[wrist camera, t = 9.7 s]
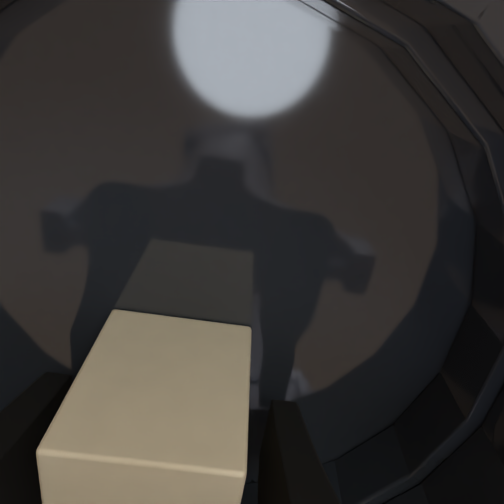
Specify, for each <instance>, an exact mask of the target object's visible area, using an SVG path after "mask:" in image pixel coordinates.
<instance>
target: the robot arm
mask: <svg viewBox="0 0 504 504" xmlns="http://www.w3.org/2000/svg"><path fill="white" fill-rule="evenodd" d="M71 385H72V375H69V374H60V373H52V372H45V373H44V374H43V375H41V376H40V377H39V378H38V379H37V380H36V381H34V382H33V383H32V384H31V385H30V386H29V387H28V388H27V389H25V390H24V391H23V392H22V393H21V394H20V395H19V396H18V397H16V398H15V399H14V400H13V401H12V402H11V403H9V404H8V405H7V406H6V407H5V408H4V409H3V410H1V411H0V504H42V499H41V491H40V483H39V475H38V466H37V458H36V450H37V448H38V446H39V444H40V442H41V440H42V438H43V437H44V435H45V433H46V431H47V429H48V427H49V426H50V424H51V422H52V420H53V418H54V416H55V415H56V413H57V411H58V409H59V407H60V405H61V404H62V402H63V400H64V398H65V396H66V394H67V392H68V391H69V389H70V387H71ZM258 504H341V503H340V501H339V499H338V497H337V495H336V493H335V491H334V489H333V487H332V485H331V483H330V481H329V478H328V476H327V474H326V472H325V470H324V468H323V466H322V464H321V461H320V459H319V457H318V455H317V452H316V450H315V447H314V445H313V443H312V440H311V438H310V435H309V433H308V430H307V427H306V425H305V422H304V419H303V416H302V414H301V411H300V407H299V405H298V404H297V403H296V402H291V401H282V400H274V399H272V400H271V405H270V409H269V414H268V418H267V423H266V427H265V431H264V436H263V440H262V445H261V449H260V454H259V473H258Z"/></svg>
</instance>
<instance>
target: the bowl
mask: <svg viewBox="0 0 504 504" xmlns="http://www.w3.org/2000/svg"><path fill="white" fill-rule="evenodd" d="M114 309H117V310H125V311H133V312H140V313H148V314H156V315H164V316H171V317H179V318H187V319H195V320H202V321H210V322H218V323H226V324H233V325H241V326H248V327H250V328H251V330H252V332H251V362H250V392H249V422H248V452H247V475H246V480H245V485H244V490H243V494H242V499H241V504H258V473H259V454H260V449H261V445H262V440H263V436H264V431H265V427H266V423H267V418H268V414H269V409H270V405H271V400H272V399H274V400H282V401H291V402H296V403H297V404H298V405H299V407H300V411H301V414H302V416H303V419H304V422H305V425H306V427H307V430H308V433H309V435H310V438H311V440H312V443H313V445H314V447H315V450H316V452H317V455H318V457H319V459H320V461H321V464H322V466H323V468H324V470H325V472H326V474H327V476H328V478H329V481H330V483H331V485H332V487H333V489H334V491H335V493H336V495H337V497H338V499H339V501H340V503H341V504H504V0H0V411H1V410H3V409H4V408H5V407H6V406H7V405H8V404H9V403H11V402H12V401H13V400H14V399H15V398H16V397H18V396H19V395H20V394H21V393H22V392H23V391H24V390H25V389H27V388H28V387H29V386H30V385H31V384H32V383H33V382H34V381H36V380H37V379H38V378H39V377H40V376H41V375H43V374H44V373H45V372H52V373H60V374H69V375H72V383H73V381H74V380H75V378H76V376H77V374H78V372H79V370H80V369H81V367H82V365H83V363H84V361H85V359H86V358H87V356H88V354H89V352H90V350H91V348H92V346H93V345H94V343H95V341H96V339H97V337H98V335H99V334H100V332H101V330H102V328H103V326H104V324H105V323H106V321H107V319H108V317H109V315H110V313H111V311H112V310H114Z"/></svg>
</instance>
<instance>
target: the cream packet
mask: <svg viewBox="0 0 504 504" xmlns="http://www.w3.org/2000/svg"><path fill="white" fill-rule="evenodd" d="M251 332H252V330H251V328H250V327H248V326H241V325H233V324H226V323H218V322H210V321H202V320H195V319H187V318H179V317H171V316H164V315H156V314H148V313H140V312H133V311H125V310H117V309H114V310H112V311H111V313H110V315H109V317H108V319H107V321H106V323H105V324H104V326H103V328H102V330H101V332H100V334H99V335H98V337H97V339H96V341H95V343H94V345H93V346H92V348H91V350H90V352H89V354H88V356H87V358H86V359H85V361H84V363H83V365H82V367H81V369H80V370H79V372H78V374H77V376H76V378H75V380H74V381H73V383H72V385H71V387H70V389H69V391H68V392H67V394H66V396H65V398H64V400H63V402H62V404H61V405H60V407H59V409H58V411H57V413H56V415H55V416H54V418H53V420H52V422H51V424H50V426H49V427H48V429H47V431H46V433H45V435H44V437H43V438H42V440H41V442H40V444H39V446H38V448H37V450H36V458H37V466H38V475H39V483H40V491H41V499H42V504H241V499H242V494H243V490H244V485H245V480H246V475H247V452H248V422H249V392H250V362H251Z"/></svg>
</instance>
